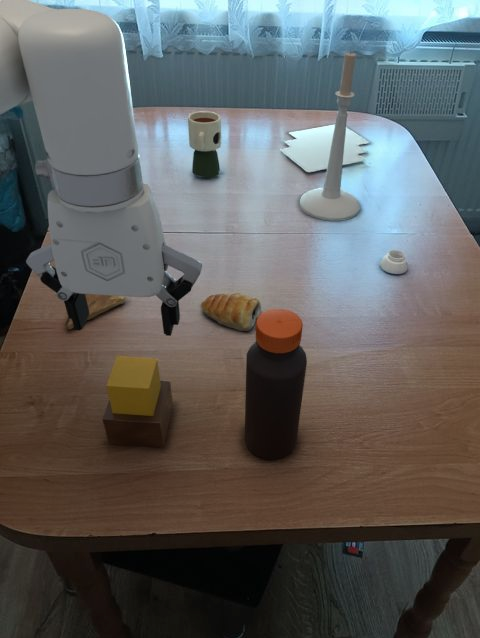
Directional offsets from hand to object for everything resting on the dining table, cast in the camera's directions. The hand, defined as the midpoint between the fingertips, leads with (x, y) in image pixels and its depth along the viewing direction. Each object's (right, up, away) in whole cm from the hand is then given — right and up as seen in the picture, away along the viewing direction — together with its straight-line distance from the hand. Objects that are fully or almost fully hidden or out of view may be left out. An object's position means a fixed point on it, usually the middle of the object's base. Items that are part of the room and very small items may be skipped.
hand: (126, 324), depth 59 cm
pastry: (+10, +2, +29) cm, 31 cm away
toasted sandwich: (-12, +4, +29) cm, 32 cm away
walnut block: (-1, -13, +12) cm, 18 cm away
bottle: (+16, -14, +11) cm, 24 cm away
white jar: (+39, +12, +41) cm, 58 cm away
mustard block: (-1, -9, +9) cm, 13 cm away
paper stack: (+31, +49, +79) cm, 97 cm away
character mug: (+2, +37, +65) cm, 75 cm away
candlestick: (+29, +28, +57) cm, 70 cm away
